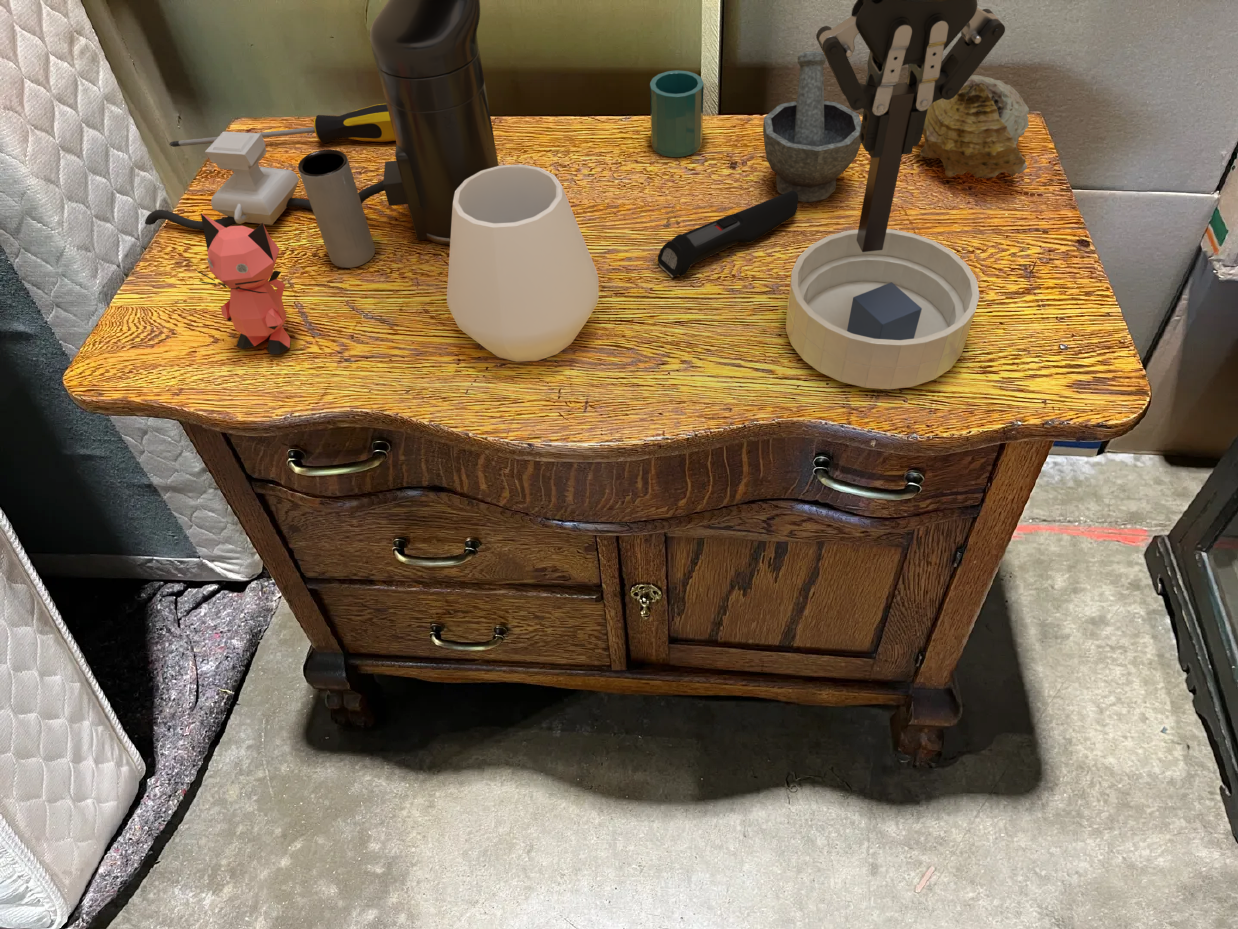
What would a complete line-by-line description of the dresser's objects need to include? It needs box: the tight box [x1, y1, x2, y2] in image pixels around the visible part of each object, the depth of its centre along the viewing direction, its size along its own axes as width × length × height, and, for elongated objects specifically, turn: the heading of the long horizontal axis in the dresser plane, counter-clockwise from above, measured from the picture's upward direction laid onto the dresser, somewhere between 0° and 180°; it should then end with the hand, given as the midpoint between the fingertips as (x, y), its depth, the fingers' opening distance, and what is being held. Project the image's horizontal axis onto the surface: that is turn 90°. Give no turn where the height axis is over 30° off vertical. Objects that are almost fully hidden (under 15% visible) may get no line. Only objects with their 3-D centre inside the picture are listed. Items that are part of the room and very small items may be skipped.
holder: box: [649, 69, 705, 158], centre depth 98 cm, size 6×6×7 cm
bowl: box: [785, 228, 980, 390], centre depth 77 cm, size 15×15×6 cm
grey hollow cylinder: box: [297, 149, 376, 269], centre depth 87 cm, size 4×4×10 cm
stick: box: [857, 81, 915, 252], centre depth 73 cm, size 2×2×14 cm
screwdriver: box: [169, 103, 396, 148], centre depth 104 cm, size 3×3×30 cm
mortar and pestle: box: [762, 50, 862, 203], centre depth 90 cm, size 11×9×12 cm
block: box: [847, 282, 922, 340], centre depth 77 cm, size 4×4×4 cm
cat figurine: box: [194, 212, 291, 355], centre depth 79 cm, size 7×7×12 cm
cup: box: [446, 163, 600, 363], centre depth 77 cm, size 13×13×14 cm
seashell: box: [919, 74, 1030, 179], centre depth 94 cm, size 11×15×10 cm
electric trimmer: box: [657, 191, 799, 278], centre depth 88 cm, size 4×16×3 cm, turn 122°
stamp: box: [204, 131, 300, 226], centre depth 93 cm, size 9×7×8 cm
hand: (887, 150), depth 71 cm, fingers closed on stick, 2 cm apart
